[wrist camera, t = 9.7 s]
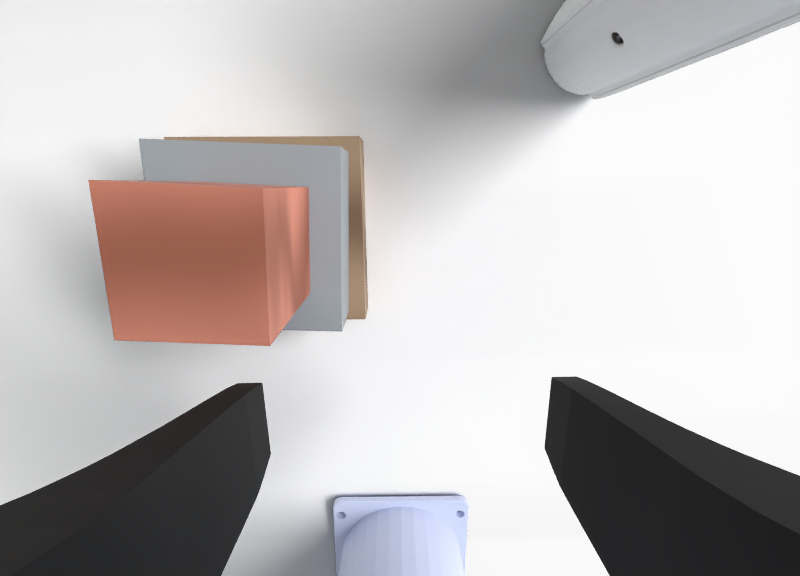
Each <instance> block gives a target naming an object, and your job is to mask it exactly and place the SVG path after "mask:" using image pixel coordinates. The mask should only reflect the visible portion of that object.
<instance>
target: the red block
mask: <svg viewBox="0 0 800 576" xmlns="http://www.w3.org/2000/svg"><path fill="white" fill-rule="evenodd" d="M89 186H90V192H91V198H92V204H93V211H94V217H95V223H96V229H97V235H98V241H99V247H100V254H101V260H102V266H103V272H104V278H105V284H106V291H107V297H108V303H109V309H110V315H111V321H112V327H113V334H114V340H124V341H151V342H178V343H206V344H233V345H260V346H270V345H271V344H272V343H273V341H274V340H275V339H276V337H277V336H278V335H279V333H280V332H281V331H282V329H283V328H284V327H285V326H286V324H287V323H288V322H289V320H290V319H291V318H292V316H293V315H294V314H295V312H296V311H297V310H298V309H299V307H300V306H301V305H302V303H303V302H304V301H305V299H306V298H307V297H308V295H309V294H310V243H309V187H296V186H275V185H255V184H234V183H214V182H186V181H115V180H89Z"/></svg>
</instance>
